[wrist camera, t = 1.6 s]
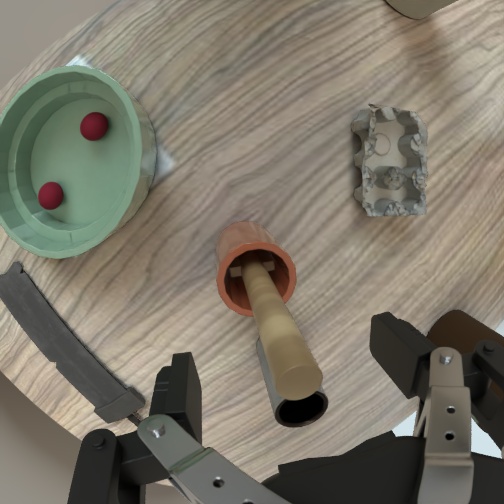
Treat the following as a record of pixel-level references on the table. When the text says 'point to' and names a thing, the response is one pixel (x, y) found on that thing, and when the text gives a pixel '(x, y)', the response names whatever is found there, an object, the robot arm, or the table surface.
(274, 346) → the wooden stick
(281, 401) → the grey tube
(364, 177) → the egg carton
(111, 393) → the toy broadsword
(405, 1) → the travel mug
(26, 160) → the bowl
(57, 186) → the bead
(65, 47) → the table surface
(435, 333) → the olive oil
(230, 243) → the utensil pot
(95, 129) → the bead
